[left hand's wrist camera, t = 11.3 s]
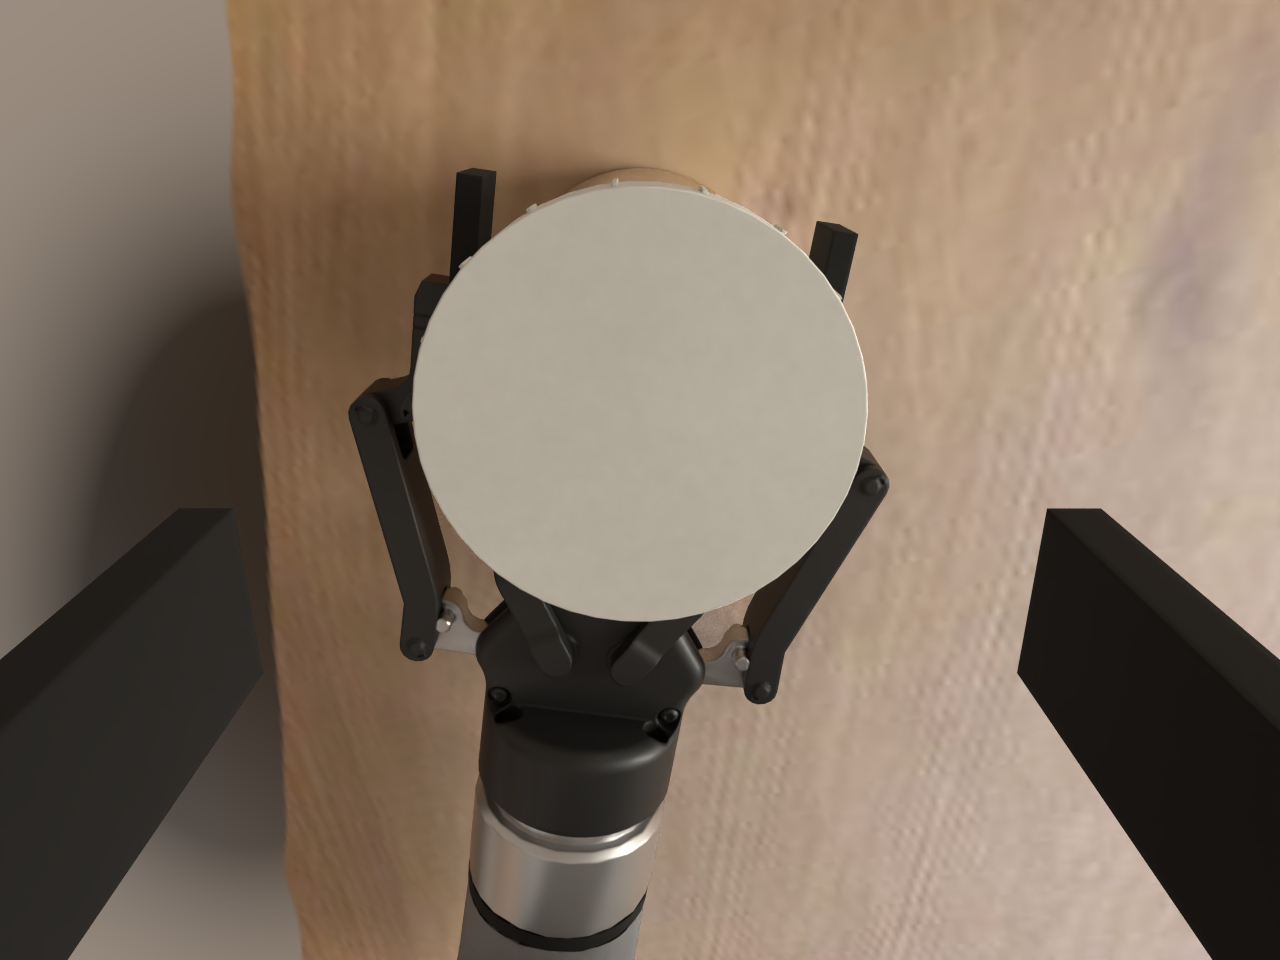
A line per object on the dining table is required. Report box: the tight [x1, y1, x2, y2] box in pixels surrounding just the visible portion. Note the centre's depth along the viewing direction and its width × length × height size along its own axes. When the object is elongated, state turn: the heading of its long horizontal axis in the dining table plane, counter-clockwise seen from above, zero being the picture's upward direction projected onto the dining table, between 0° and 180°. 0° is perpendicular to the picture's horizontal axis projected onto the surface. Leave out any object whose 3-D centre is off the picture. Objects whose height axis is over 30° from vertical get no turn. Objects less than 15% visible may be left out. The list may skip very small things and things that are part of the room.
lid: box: [412, 178, 868, 622], centre depth 21 cm, size 10×10×2 cm
